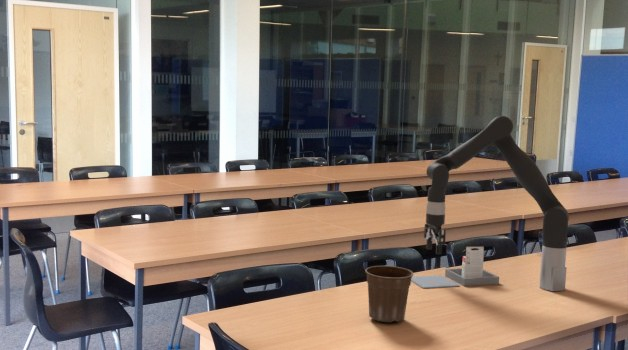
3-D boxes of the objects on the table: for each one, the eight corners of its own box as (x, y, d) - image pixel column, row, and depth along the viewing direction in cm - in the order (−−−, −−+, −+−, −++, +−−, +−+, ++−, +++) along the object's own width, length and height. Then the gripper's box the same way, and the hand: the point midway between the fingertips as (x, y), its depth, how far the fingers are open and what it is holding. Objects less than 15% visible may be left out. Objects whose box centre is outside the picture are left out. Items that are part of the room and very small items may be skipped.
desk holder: (498, 284, 289) (499, 276, 289) (463, 286, 284) (464, 278, 284) (478, 274, 304) (479, 267, 304) (445, 275, 299) (445, 269, 299)
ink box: (461, 279, 295) (462, 244, 294) (479, 278, 296) (481, 244, 295) (463, 281, 292) (465, 246, 290) (482, 281, 293) (484, 246, 291)
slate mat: (459, 286, 284) (459, 285, 284) (423, 288, 279) (423, 287, 279) (440, 276, 299) (440, 275, 299) (406, 278, 294) (406, 276, 294)
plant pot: (414, 312, 248) (416, 267, 246) (407, 327, 232) (409, 279, 230) (368, 307, 252) (370, 263, 250) (359, 321, 237) (360, 274, 235)
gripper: (452, 215, 280) (450, 255, 282) (436, 209, 293) (434, 247, 295) (435, 215, 278) (433, 256, 280) (419, 209, 291) (417, 248, 293)
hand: (433, 251), depth 287 cm, fingers open, 8 cm apart
